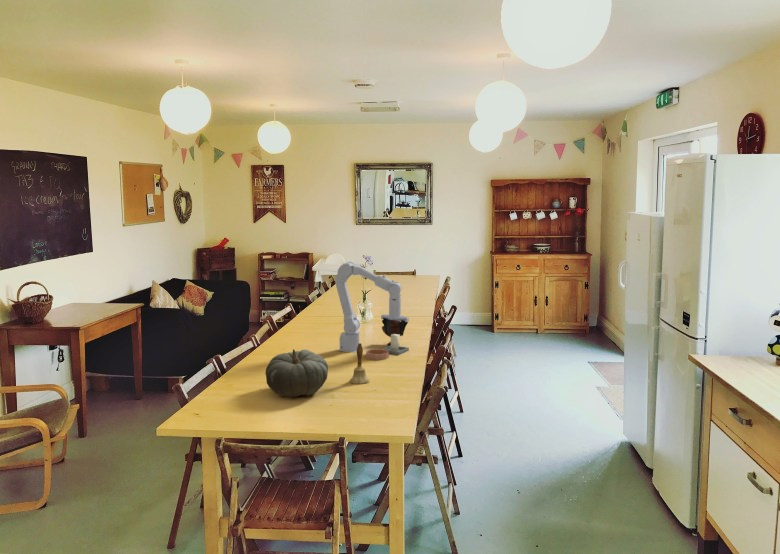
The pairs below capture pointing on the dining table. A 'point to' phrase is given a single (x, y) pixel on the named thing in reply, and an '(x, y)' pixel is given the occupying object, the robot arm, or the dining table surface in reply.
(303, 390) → the gourd
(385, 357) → the terracotta bowl
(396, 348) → the peg
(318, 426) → the dining table surface
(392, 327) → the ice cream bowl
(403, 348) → the tray
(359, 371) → the hand bell
